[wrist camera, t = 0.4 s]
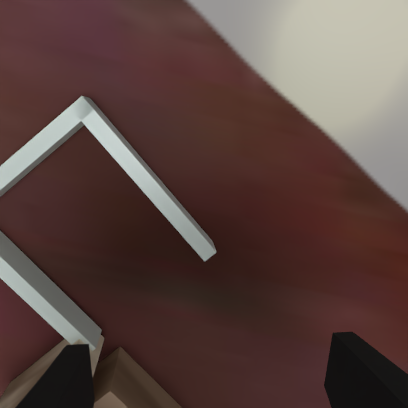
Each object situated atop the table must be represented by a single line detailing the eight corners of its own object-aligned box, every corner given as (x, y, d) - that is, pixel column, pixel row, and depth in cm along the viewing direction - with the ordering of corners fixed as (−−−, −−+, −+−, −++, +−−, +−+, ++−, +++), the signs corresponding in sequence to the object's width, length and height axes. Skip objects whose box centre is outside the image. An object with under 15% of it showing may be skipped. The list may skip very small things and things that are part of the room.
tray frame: (91, 338, 22) (84, 357, 20) (-41, 210, 19) (-62, 219, 18) (212, 241, 21) (216, 252, 19) (90, 98, 19) (81, 95, 17)
